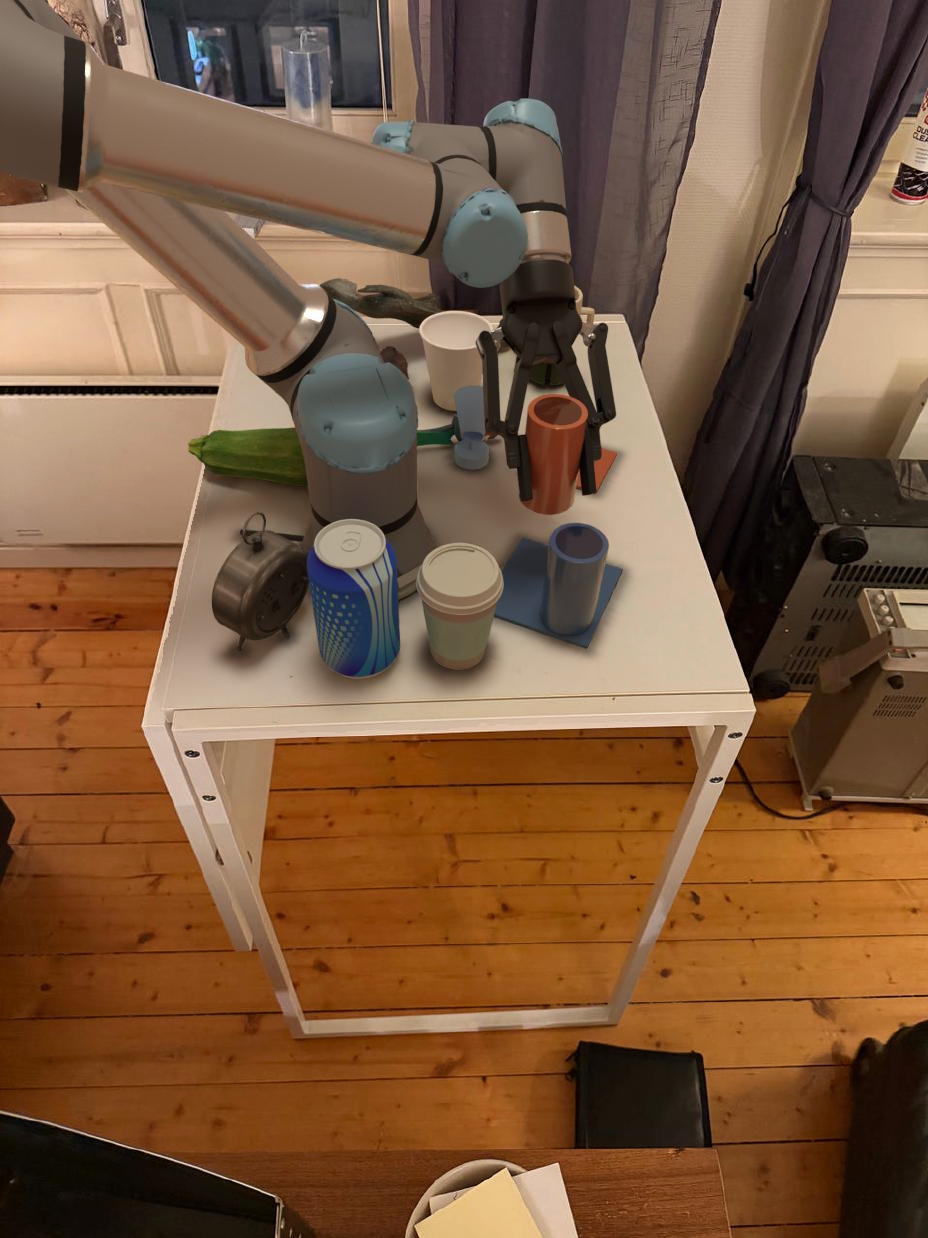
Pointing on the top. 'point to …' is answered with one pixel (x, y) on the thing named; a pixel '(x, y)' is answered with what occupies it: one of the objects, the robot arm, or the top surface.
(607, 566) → the blue mat
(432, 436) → the knife
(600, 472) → the terracotta mat
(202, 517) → the top surface
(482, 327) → the cup
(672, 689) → the top surface
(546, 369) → the character mug
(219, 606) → the alarm clock
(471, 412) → the spotlight
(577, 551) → the blue tumbler
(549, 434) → the terracotta tumbler
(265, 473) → the vegetable
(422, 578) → the coffee cup
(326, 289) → the statue
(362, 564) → the beer can
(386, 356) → the stone
